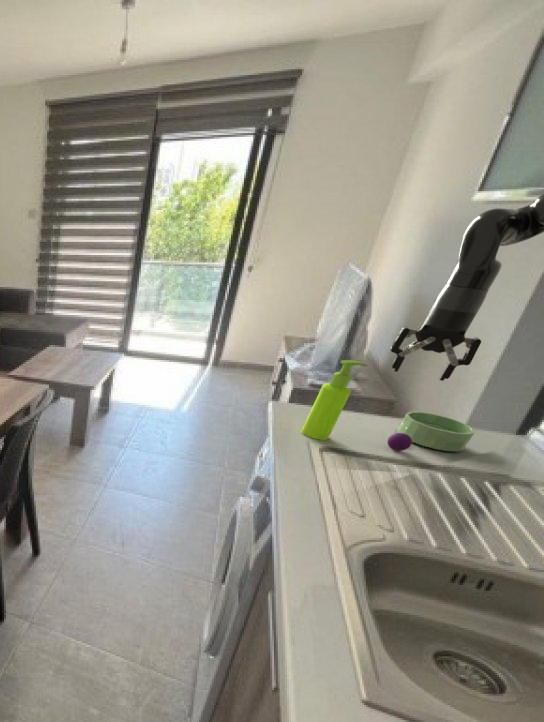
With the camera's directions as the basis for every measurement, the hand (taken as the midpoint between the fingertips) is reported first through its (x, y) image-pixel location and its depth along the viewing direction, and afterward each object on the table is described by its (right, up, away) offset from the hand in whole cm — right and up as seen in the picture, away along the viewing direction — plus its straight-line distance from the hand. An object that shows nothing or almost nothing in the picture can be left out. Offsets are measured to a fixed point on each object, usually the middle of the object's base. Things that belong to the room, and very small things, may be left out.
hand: (417, 375), depth 116 cm
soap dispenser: (-18, -14, +9) cm, 24 cm away
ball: (-2, -16, +3) cm, 16 cm away
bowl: (+12, -16, +9) cm, 22 cm away
